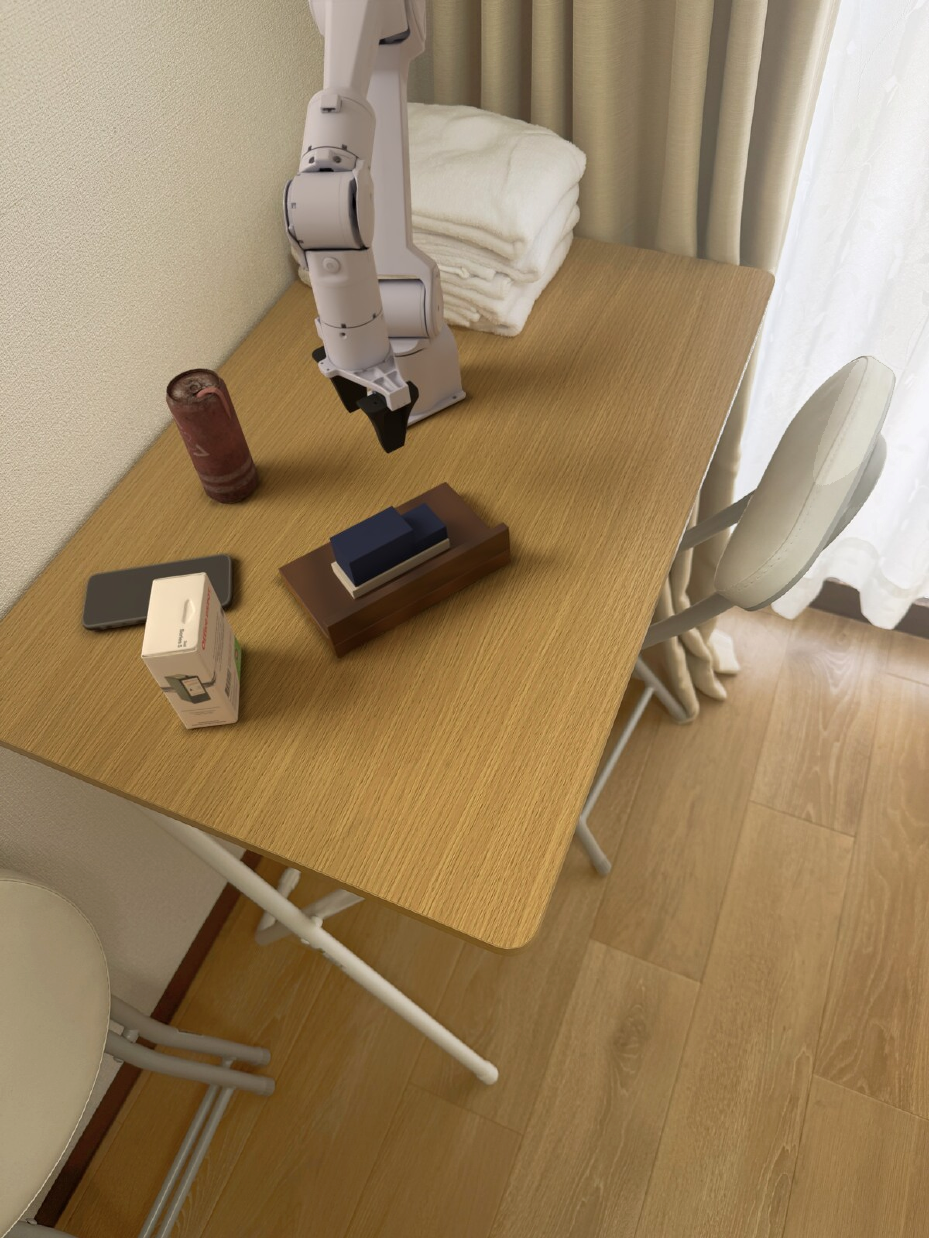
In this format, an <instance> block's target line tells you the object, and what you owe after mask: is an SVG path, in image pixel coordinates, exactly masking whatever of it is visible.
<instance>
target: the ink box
mask: <svg viewBox="0 0 929 1238" xmlns="http://www.w3.org/2000/svg"><path fill="white" fill-rule="evenodd" d="M144 628H145V629H144V635H143V641H142V648H141V654H140V658H141V659H142V661H143V662H144V664H145V666H146V667H147V669H148V671H149V672H150V673H151V675H152V677H153V679H154V680H155V681H156V683H157V684H158V686H159V687H160V689H161V691H162V693H163V694H164V695H165V697H166V698H167V701H169V703H170V705H171V706H172V708H173V710H174V711H175V713H176V715H177V716H178V717H179V719H180V721H181V722H182V724H183V725H184V726H185V728H186V729H187V730H191V729H197V728H204V727H213V726H221V725H230V724H235V723H237V721H238V720H239V708H240V707H239V706H240V688H241V687H240V686H241V669H242V651H243V650H242V647H241V644H240V643H239V641H238V638H237V637H236V635H235V632H234V630H233V627H232V626H231V623H230V621H229V619H228V617H227V614H226V613H225V611H224V610H223V608H222V606H221V604H220V602H219V600H218V598H217V595H216V593H215V591H214V589H213V587H212V585H211V583H210V580H209V578H208V576H207V574H206V573H196V574H189V575H182V576H173V577H167V578H160V579H155V580H154V581H153V584H152V590H151V596H150V603H149V609H148V616H147V622H145V627H144Z"/></svg>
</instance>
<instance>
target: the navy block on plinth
mask: <svg viewBox="0 0 929 1238" xmlns="http://www.w3.org/2000/svg"><path fill="white" fill-rule="evenodd" d="M395 508H396V507H394V505H390V506H388V507H386V508H384V509H382V510H380V511H379V512H376V513H374V514H373V515H371V516H369V517H367V518H365V519H363V520H362V521H360V522H358V523H356V524H354V525H351V526H350V527H348V528H346V529H343V530H342V531H340V532H338V533H336V534H334V535H333V536H330V537H329V538H328V539H329V542H331V546H332V549H333V552H334V556H335V559H336V562H334V563H332V564H331V565H332V568H333V572H334V573H335V574H336V576H337V577H338V578H339V579H340V581H341V582H342V583H343V585H344V586H345V587H346V589H347V590H348V591H349V593H350V594H351V595H352V597H353V598H354V599H356V598H358V597H360V596H361V595H363V594H365V593H367V592H369V591H371V590H373V589H374V588H376V587H378V586H380V585H382V584H384V583H385V582H387V581H389V580H391V579H393V578H395V577H397V576H398V575H400V574H402V573H404V572H406V571H408V570H409V569H411V568H413V567H415V566H417V565H419V564H421V563H422V562H424V561H426V560H428V559H430V558H432V557H434V556H435V555H437V554H439V553H441V552H443V551H445V550H446V549H448V548H450V543H449V539H448V535H447V529H446V525H445V524H444V523H443V522H442V521H441V520H440V519H439V518H438V517H437V515H436V514H435V513H434V512H433V511H432V510H431V509H430V508H429V507H428V506H427V504H426V503H423V504H422V505H420V506H418V507H416V508H414V509H412V510H410V511H408V512H406V513H404V514H402V515H400V514H399V513H398V512H397V511H396V509H395Z"/></svg>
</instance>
